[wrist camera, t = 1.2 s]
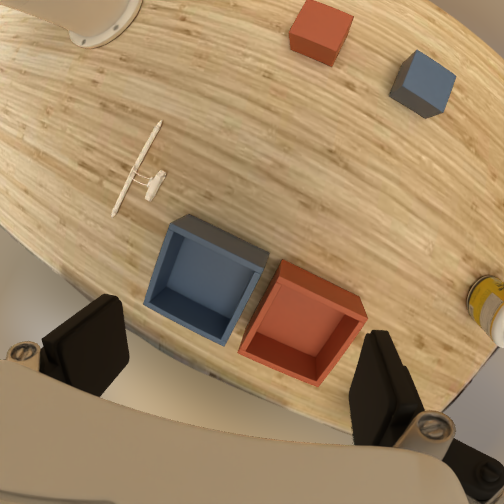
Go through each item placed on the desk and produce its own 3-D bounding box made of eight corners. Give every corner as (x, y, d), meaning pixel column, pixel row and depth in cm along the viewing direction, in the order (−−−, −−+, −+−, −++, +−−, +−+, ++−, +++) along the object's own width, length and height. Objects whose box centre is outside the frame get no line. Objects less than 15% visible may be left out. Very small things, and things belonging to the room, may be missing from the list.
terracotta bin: (282, 258, 35) (279, 275, 30) (359, 296, 35) (368, 318, 30) (245, 328, 38) (237, 353, 33) (317, 360, 38) (318, 387, 33)
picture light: (160, 118, 33) (153, 116, 31) (189, 135, 33) (182, 134, 31) (111, 215, 37) (102, 218, 35) (135, 234, 37) (127, 238, 35)
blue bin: (189, 213, 35) (170, 222, 30) (269, 252, 35) (264, 268, 30) (162, 286, 39) (142, 304, 33) (234, 323, 38) (224, 347, 33)
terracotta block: (307, 17, 27) (307, -3, 22) (347, 34, 27) (354, 16, 22) (290, 49, 28) (288, 32, 24) (331, 67, 28) (336, 51, 24)
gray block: (402, 62, 27) (416, 49, 22) (438, 85, 27) (456, 75, 22) (388, 96, 28) (402, 85, 24) (425, 119, 28) (443, 113, 23)
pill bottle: (505, 294, 32) (550, 332, 21) (475, 326, 34) (514, 372, 22) (489, 263, 31) (539, 298, 20) (457, 297, 33) (500, 342, 22)
